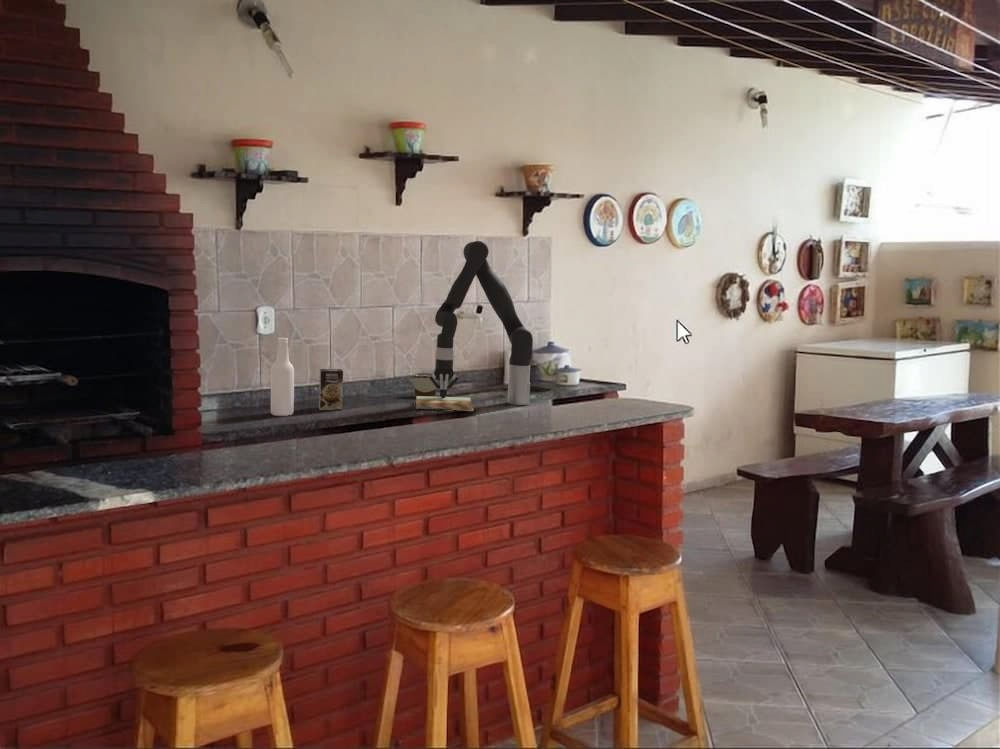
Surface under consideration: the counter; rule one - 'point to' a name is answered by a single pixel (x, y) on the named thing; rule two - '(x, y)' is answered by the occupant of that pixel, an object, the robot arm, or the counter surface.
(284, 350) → the alcohol
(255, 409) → the counter surface
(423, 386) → the food container
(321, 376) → the coffee box
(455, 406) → the floor frame
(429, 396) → the board
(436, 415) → the counter surface
